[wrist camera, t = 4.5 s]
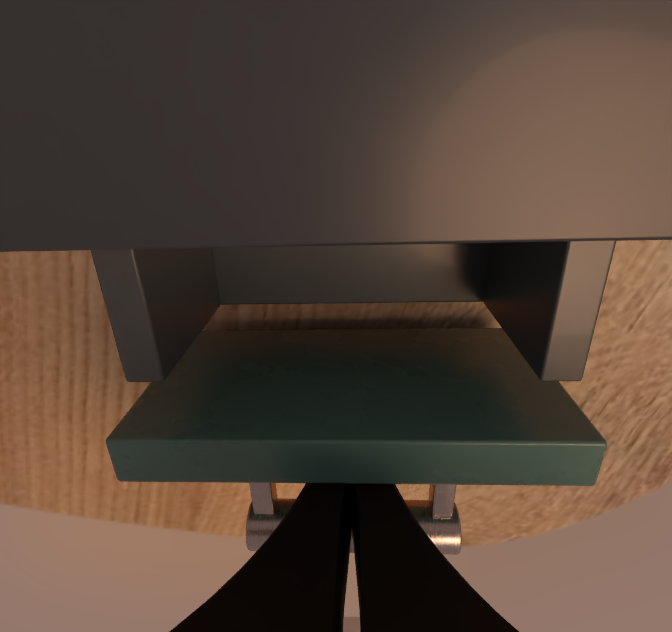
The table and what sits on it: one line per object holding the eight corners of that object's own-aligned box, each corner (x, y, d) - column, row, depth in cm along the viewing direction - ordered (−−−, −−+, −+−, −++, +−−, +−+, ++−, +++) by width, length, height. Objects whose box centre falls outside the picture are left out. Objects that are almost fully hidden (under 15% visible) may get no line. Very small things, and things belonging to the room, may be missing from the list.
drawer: (494, 461, 16) (558, 614, 11) (216, 459, 16) (156, 604, 11) (598, -173, 9) (910, -554, 4) (102, -141, 9) (-182, -440, 4)
